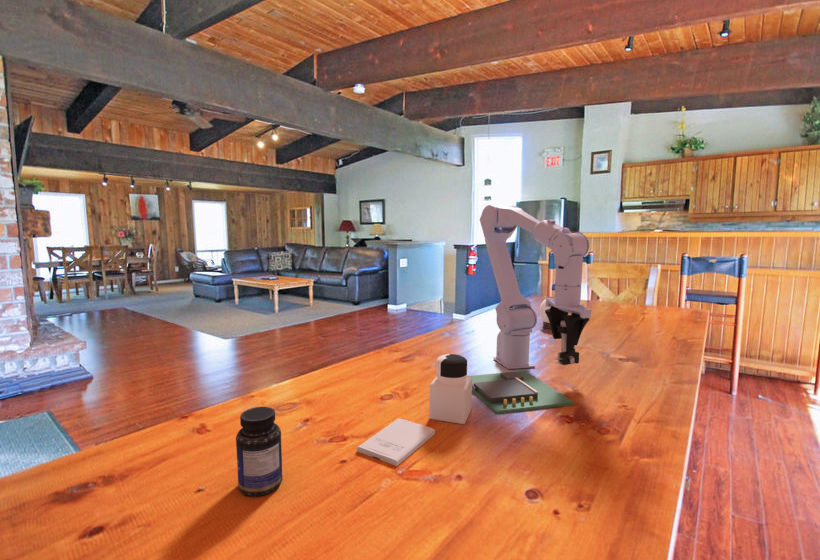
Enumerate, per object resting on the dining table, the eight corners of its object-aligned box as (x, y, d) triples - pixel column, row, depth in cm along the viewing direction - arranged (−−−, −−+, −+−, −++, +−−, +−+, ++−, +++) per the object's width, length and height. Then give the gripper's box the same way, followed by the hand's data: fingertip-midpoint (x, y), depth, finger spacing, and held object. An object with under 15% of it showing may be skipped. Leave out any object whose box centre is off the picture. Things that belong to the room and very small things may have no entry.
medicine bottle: (471, 410, 88) (473, 353, 86) (464, 425, 81) (466, 364, 80) (438, 405, 90) (439, 349, 89) (428, 419, 83) (429, 360, 82)
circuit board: (459, 379, 105) (459, 372, 105) (524, 373, 110) (525, 366, 110) (496, 413, 86) (496, 405, 86) (573, 404, 91) (574, 396, 90)
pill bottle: (245, 473, 65) (242, 404, 64) (286, 472, 66) (284, 403, 64) (232, 499, 59) (228, 423, 57) (277, 497, 59) (274, 422, 58)
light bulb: (540, 329, 156) (541, 299, 155) (537, 325, 163) (539, 296, 161) (559, 330, 155) (561, 300, 153) (556, 325, 162) (557, 297, 160)
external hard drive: (435, 437, 78) (397, 469, 67) (397, 425, 82) (356, 454, 72) (435, 428, 78) (397, 460, 67) (397, 417, 82) (356, 445, 71)
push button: (564, 368, 97) (564, 325, 97) (547, 362, 102) (547, 321, 101) (584, 364, 100) (586, 322, 100) (567, 359, 105) (568, 319, 104)
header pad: (473, 387, 98) (473, 381, 98) (516, 383, 101) (517, 377, 101) (490, 403, 89) (491, 396, 89) (537, 398, 92) (537, 391, 92)
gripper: (604, 289, 93) (600, 349, 95) (564, 280, 107) (561, 333, 109) (576, 290, 92) (572, 351, 93) (539, 281, 105) (536, 334, 107)
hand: (564, 341), depth 101 cm, fingers closed on push button, 5 cm apart
